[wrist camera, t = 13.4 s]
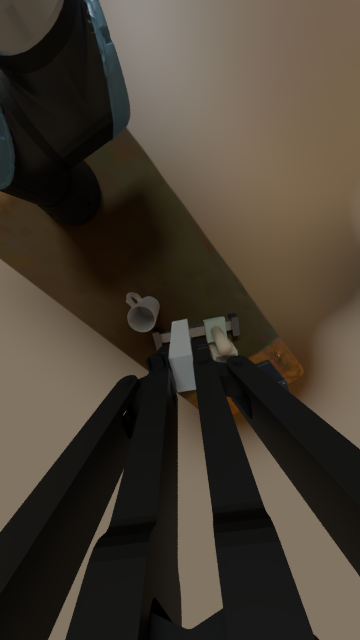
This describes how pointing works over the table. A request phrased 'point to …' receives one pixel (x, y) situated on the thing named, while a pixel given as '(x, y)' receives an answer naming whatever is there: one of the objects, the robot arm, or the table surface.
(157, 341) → the rail
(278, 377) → the small box
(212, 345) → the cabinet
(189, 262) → the table surface
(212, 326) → the carriage
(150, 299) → the mug
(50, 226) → the table surface
